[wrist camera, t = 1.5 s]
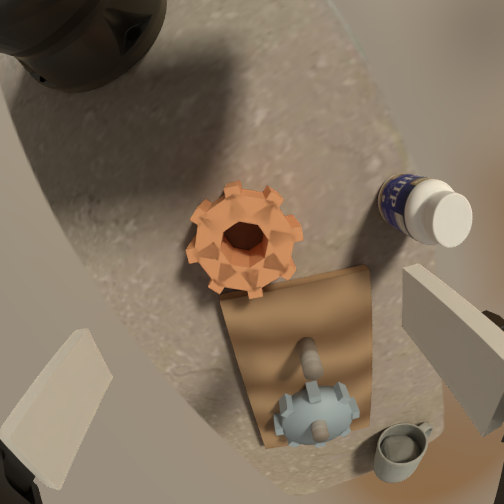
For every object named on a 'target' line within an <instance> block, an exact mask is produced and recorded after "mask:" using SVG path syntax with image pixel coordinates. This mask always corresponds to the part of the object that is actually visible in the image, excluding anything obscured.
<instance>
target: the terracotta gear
mask: <svg viewBox="0 0 504 504" xmlns="http://www.w3.org/2000/svg"><path fill="white" fill-rule="evenodd" d="M224 193H225V195H223V196H222V197H221V198H219V199H218V200H216V201H215V202H214V203H211V202H210V201H208V200H206V199H205V200H204V201H203V202H202V203H201V204H200V205H199V206H198V207H197V209H196V210H195V212H194V213H193V215H192V217H191V218H190V221H192V222H194V223H195V224H197V225H198V228H197V235H195V236H194V238H193V239H192V241H191V242H190V244H189V245H188V247H187V249H186V254H187V257H188V261H189V264H190V263H195V262H199V263H200V265H201V266H202V267H203V268H204V270H205V271H206V272H207V274H208V275H209V276H210V277H211V278H210V281H209V285H208V288H210V289H212V290H214V291H215V292H217V293H219V294H220V293H221V292H222V290H223V289H224V287H227V288H233V289H239V290H245V291H248V296H249V299H253V298H258V297H263V292H262V287H264V286H266V285H267V284H269V283H270V282H272V281H274V280H275V279H277V278H278V277H280V276H282V277H283V278H285V279H286V280H289V279H290V278H291V276H292V275H293V274H294V272H295V271H296V270H297V269H296V267H295V264H294V262H293V260H292V257H291V254H292V250H293V245H294V242H298V241H303V240H304V239H303V233H302V227H301V225H300V224H299V222H298V221H297V220H296V218H295V217H294V216H293V215H289V216H284V215H283V213H282V212H281V210H280V209H279V206H280V205H281V203H282V202H283V201H284V199H283V198H282V197H281V196H280V194H279V193H278V192H276V191H275V190H273V189H272V188H270V187H269V186H267V187H266V188H265V190H264V191H263V192H257V191H252V190H246V189H242V187H241V182H240V181H235V182H231V183H227V185H226V186H225V187H224ZM239 221H240V222H246V223H251V224H257V225H259V227H260V228H261V230H262V231H263V233H264V235H263V240H262V242H261V243H259V244H258V245H256V246H255V247H253V248H252V249H250V250H244V249H238V248H233V246H232V245H231V244H230V242H229V241H228V239H227V238H226V237H225V235H224V234H225V230H227V229H228V228H230V227H231V226H233V225H234V224H236V223H237V222H239Z"/></svg>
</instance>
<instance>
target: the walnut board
mask: <svg viewBox="0 0 504 504" xmlns="http://www.w3.org/2000/svg"><path fill="white" fill-rule="evenodd" d="M262 292H263V297H258V298H253V299H249V296H248V291H245V290H240V291H234V292H229V293H224V294H221V296H220V305H221V308H222V312H223V315H224V319H225V322H226V326H227V329H228V332H229V336H230V339H231V342H232V346H233V349H234V352H235V356H236V359H237V362H238V366H239V369H240V372H241V375H242V378H243V382H244V385H245V388H246V391H247V394H248V397H249V400H250V404H251V407H252V410H253V413H254V416H255V419H256V422H257V425H258V428H259V431H260V434H261V437H262V440H263V443H264V445H265V448H266V449H268V448H275V447H281V446H287V445H288V441H287V438H286V436H285V435H278V436H277V435H276V431H275V424H274V414H278V413H280V406H279V399H280V398H281V397H282V396H283V395H284V394H285V393H286V394H288V395H291V396H292V395H293V394H295V393H296V392H298V391H300V390H303V389H305V388H306V383H307V382H312V381H317V384H318V386H321V385H322V386H332V387H333V386H334V385H335V384H336V383H337V382H340V383H342V384H344V385H346V388H347V390H348V393H349V395H350V398H351V397H354V398H355V401H356V403H357V406H358V408H359V411H360V414H359V418H355V419H352V422H351V424H350V429H351V431H355V430H358V429H362V428H365V427H369V422H370V408H371V388H372V302H371V282H370V269H369V268H368V267H367V266H366V265H365V264H363V265H358V266H354V267H350V268H345V269H341V270H336V271H332V272H327V273H322V274H318V275H313V276H309V277H304V278H299V279H294V280H290V281H285V282H280V283H275V284H270V285H266V286H264V287H262ZM310 427H311V432H312V436H313V440H314V441H315V442H323V441H326V440H327V439H328V438H329V436H330V435H329V432H328V428H327V424H326V421H325V420H316V421H314V422H312V423H311V425H310Z"/></svg>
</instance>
